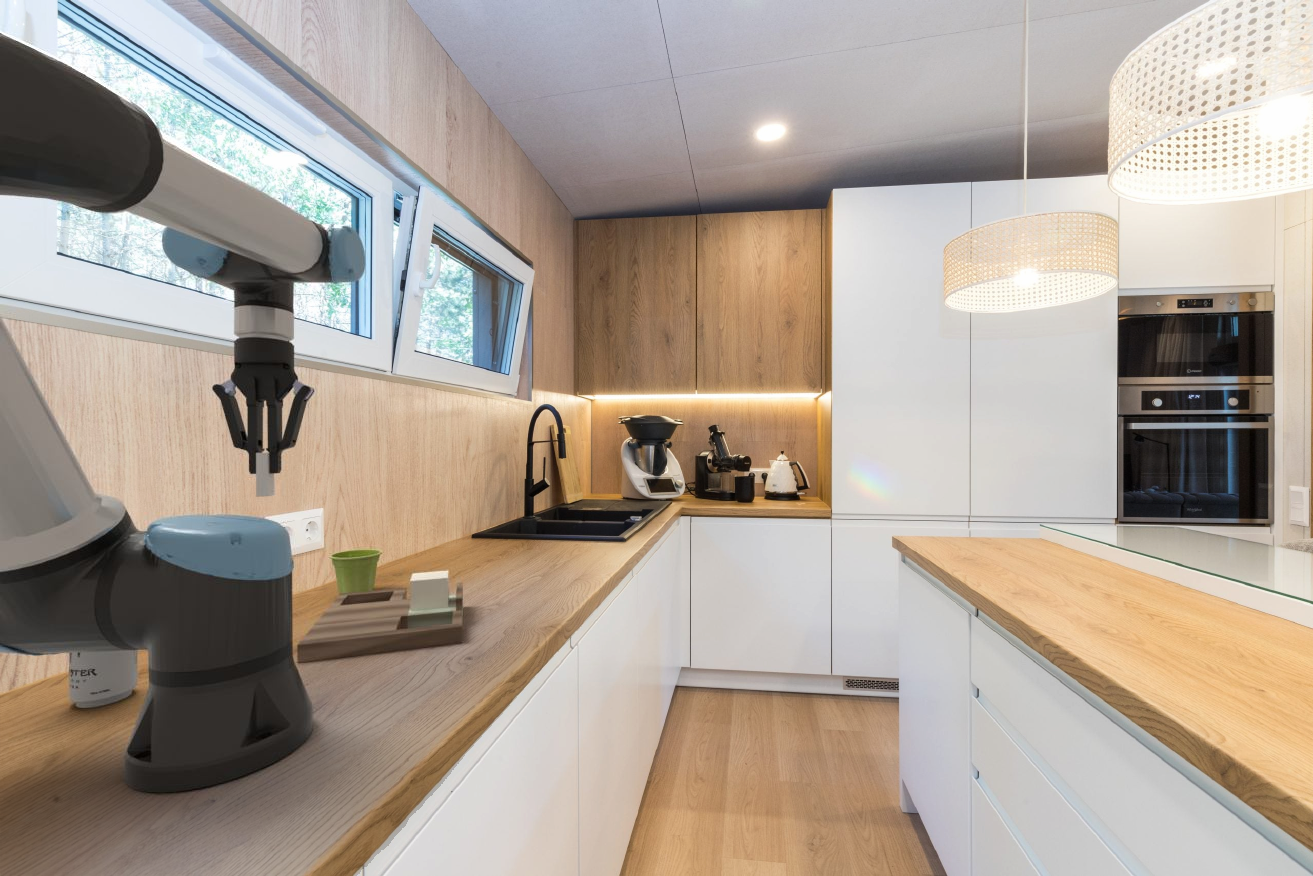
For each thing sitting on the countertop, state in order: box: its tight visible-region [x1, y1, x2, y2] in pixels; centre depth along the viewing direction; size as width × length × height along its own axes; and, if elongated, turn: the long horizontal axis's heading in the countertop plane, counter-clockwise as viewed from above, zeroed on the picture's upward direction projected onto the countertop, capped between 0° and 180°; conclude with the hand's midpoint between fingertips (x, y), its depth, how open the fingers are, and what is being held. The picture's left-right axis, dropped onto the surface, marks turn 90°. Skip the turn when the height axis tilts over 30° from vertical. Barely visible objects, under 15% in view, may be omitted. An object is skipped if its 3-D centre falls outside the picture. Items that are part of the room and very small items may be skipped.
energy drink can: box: [68, 650, 139, 709], centre depth 70 cm, size 6×6×15 cm
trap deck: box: [296, 582, 464, 664], centre depth 97 cm, size 29×22×4 cm
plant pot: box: [329, 548, 383, 596], centre depth 115 cm, size 9×9×9 cm
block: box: [409, 569, 450, 611], centre depth 100 cm, size 6×6×5 cm
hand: (265, 495), depth 86 cm, fingers closed
